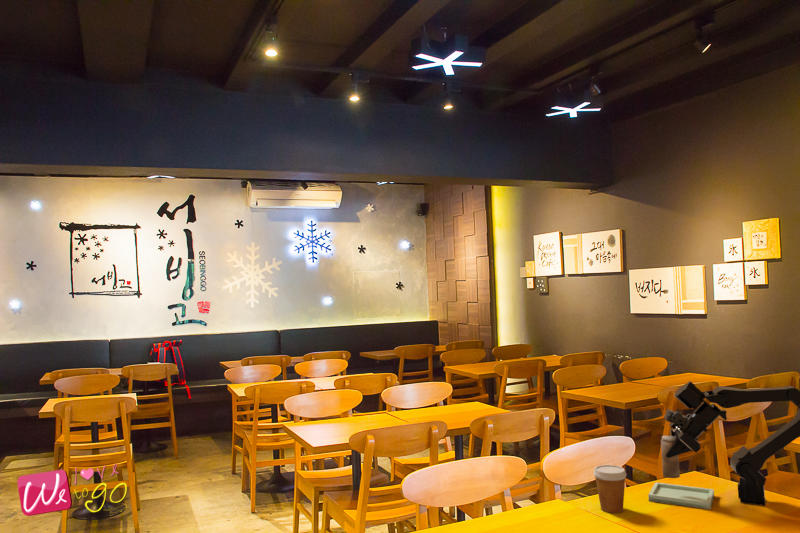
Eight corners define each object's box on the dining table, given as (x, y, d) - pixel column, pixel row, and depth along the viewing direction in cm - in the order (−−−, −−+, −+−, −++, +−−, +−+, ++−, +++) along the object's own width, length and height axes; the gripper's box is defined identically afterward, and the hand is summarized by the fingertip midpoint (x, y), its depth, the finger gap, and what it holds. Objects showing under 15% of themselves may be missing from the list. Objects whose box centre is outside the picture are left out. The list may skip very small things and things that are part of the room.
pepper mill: (682, 475, 185) (680, 436, 186) (675, 479, 182) (672, 439, 183) (667, 472, 189) (665, 434, 190) (660, 476, 186) (657, 437, 186)
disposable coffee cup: (631, 515, 173) (628, 474, 173) (597, 514, 175) (594, 473, 175) (625, 504, 182) (623, 464, 182) (593, 503, 184) (591, 464, 184)
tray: (714, 495, 185) (713, 489, 185) (710, 509, 174) (709, 502, 174) (655, 488, 194) (655, 482, 195) (648, 501, 183) (648, 494, 184)
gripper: (674, 395, 195) (640, 429, 197) (685, 406, 177) (648, 443, 179) (702, 419, 192) (668, 453, 195) (716, 433, 174) (678, 470, 177)
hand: (665, 454), depth 186 cm, fingers closed on pepper mill, 5 cm apart
